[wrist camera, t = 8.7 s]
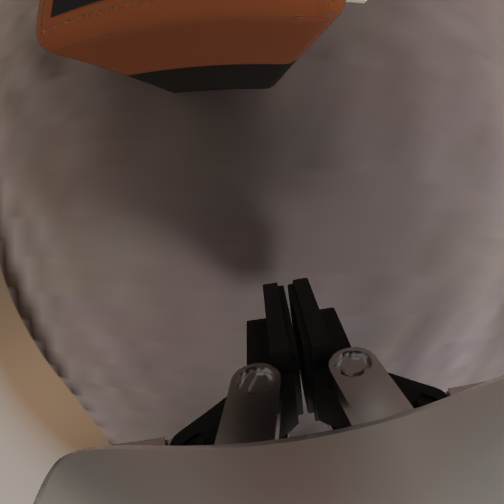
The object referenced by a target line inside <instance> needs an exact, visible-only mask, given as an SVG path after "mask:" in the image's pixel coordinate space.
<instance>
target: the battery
mask: <svg viewBox="0 0 504 504" xmlns="http://www.w3.org/2000/svg"><path fill="white" fill-rule="evenodd" d="M345 4H346V0H40V3H39V10H38V17H37V39H38V41H39V43H40V45H41V46H42V47H43V48H44V49H46V50H47V51H49V52H51V53H54V54H57V55H61V56H64V57H68V58H72V59H75V60H79V61H82V62H86V63H89V64H93V65H96V66H99V67H102V68H106V69H109V70H112V71H115V72H118V73H121V74H124V75H127V76H130V77H133V78H135V79H138V80H141V81H144V82H146V83H149V84H152V85H155V86H157V87H160V88H162V89H165V90H168V91H170V92H173V93H179V92H191V91H204V90H221V89H262V88H270V87H272V86H274V85H275V84H276V83H277V81H278V80H279V79H280V78H281V77H282V76H283V75H284V73H285V72H286V71H287V70H288V69H289V68H290V67H291V66H292V64H293V63H294V62H295V61H296V60H297V59H298V58H299V57H300V56H301V55H302V53H303V52H304V51H305V50H306V49H307V48H308V47H309V46H310V45H311V44H312V43H313V42H314V41H315V40H316V38H317V37H318V36H319V35H320V34H321V33H322V32H323V31H324V30H325V29H326V28H327V27H328V26H329V25H330V24H331V23H332V22H333V21H334V20H335V19H336V18H337V17H338V16H339V14H340V13H341V12H342V10H343V9H344V7H345Z"/></svg>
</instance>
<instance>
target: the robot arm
mask: <svg viewBox="0 0 504 504" xmlns="http://www.w3.org/2000/svg"><path fill="white" fill-rule="evenodd" d="M263 292H264V302H265V312H266V318H265V319H258V320H251V321H247V366H244V367H242V368H241V369H239V370H238V371H237V372H236V373H235V374H234V375H233V377H232V379H231V383H230V386H229V390H228V394H227V397H226V398H224V399H223V400H222V401H221V402H219V403H218V404H217V405H215V406H214V407H213V408H211V409H210V410H209V411H207V412H206V413H205V414H203V415H202V416H201V417H199V418H198V419H197V420H195V421H194V422H192V423H191V424H190V425H188V426H187V427H185V428H184V429H183V430H181V431H180V432H179V433H178V434H176V435H175V436H174V437H173V439H171V440H166V439H165V437H163V438H158V439H151V440H145V441H138V442H131V443H122V444H114V445H109V446H101V447H92V448H88V449H83V450H78V451H75V452H72V453H70V454H67V455H65V456H63V457H62V458H60V459H59V460H58V461H57V462H56V463H55V464H54V465H53V467H52V468H51V469H50V471H49V472H48V474H47V476H46V477H45V479H44V481H43V483H42V485H41V487H40V489H39V492H38V494H37V496H36V499H35V501H34V504H504V375H503V376H500V377H497V378H494V379H492V380H489V381H485V382H480V383H475V384H470V385H465V386H459V387H454V388H448V391H447V392H443V391H442V390H440V389H437V388H435V387H432V386H429V385H425V384H422V383H419V382H416V381H412V380H409V379H406V378H403V377H400V376H397V375H394V374H391V373H388V372H387V371H386V370H385V369H384V367H383V366H382V365H381V363H380V362H379V361H378V359H377V358H376V357H375V355H374V354H372V353H371V352H370V351H368V350H366V349H363V348H359V347H351V345H350V343H349V341H348V339H347V336H346V334H345V332H344V329H343V327H342V325H341V323H340V320H339V318H338V316H337V314H336V311H335V309H334V308H333V307H332V308H326V309H321V310H319V308H318V305H317V302H316V300H315V297H314V294H313V292H312V289H311V286H310V284H309V281H308V279H307V278H303V279H296V280H293V284H289V285H288V292H289V301H290V309H291V318H292V323H291V318H290V313H289V309H288V304H287V300H286V295H285V291H284V286H278V285H277V283H271V284H264V285H263ZM299 370H300V372H299ZM300 375H301V380H302V385H303V390H304V395H305V400H306V405H307V410H308V413H313V412H314V415H315V420H316V421H318V420H320V421H322V422H324V423H326V424H328V428H329V431H326V432H321V433H315V434H310V435H304V436H297V437H291V438H290V437H289V432H290V431H291V430H292V429H293V428H294V427H295V426H296V425H297V424H298V415H301V414H303V405H302V393H301V382H300Z"/></svg>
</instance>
